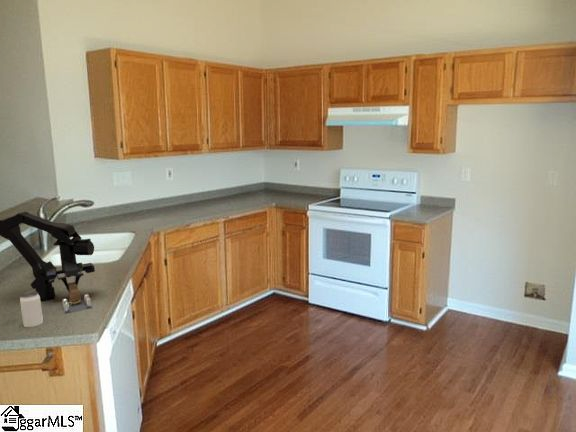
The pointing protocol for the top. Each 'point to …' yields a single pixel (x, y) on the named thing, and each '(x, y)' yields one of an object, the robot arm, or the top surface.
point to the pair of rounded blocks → (86, 299)
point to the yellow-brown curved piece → (75, 302)
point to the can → (31, 309)
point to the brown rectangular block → (73, 292)
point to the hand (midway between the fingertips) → (72, 290)
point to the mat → (77, 307)
